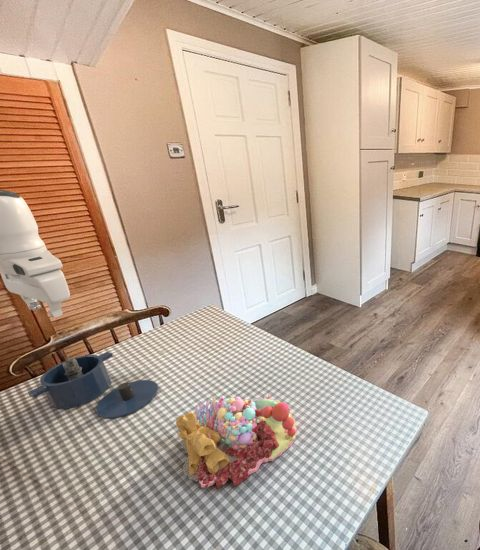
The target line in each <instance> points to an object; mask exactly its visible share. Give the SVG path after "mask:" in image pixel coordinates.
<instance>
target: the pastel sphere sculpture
mask: <svg viewBox="0 0 480 550" xmlns="http://www.w3.org/2000/svg"><path fill="white" fill-rule="evenodd" d="M199 414H200V415H199ZM175 425H176V427H177V429H178V431H179V432H178V433H177V434H176V436H178V437H179V438H180V439H181V440H182V442H181V443H180V449H182V450H184V453H186V454H187V455H188V456H187V457H186V458H185V460H184V464H182V471H183V472H182V474H183V475H185V476H188V479H189V480H191V481H194V482H198V483H199V485H200V487H201V488H202V489H205V488H208V487H211V486H213V485H216V490H217V492H219V491H220V490H221V488H223V486H225V484H226V483H227V482H228V481H229V480H230V481H232V483H233V487H236V486H238V485H239V484H241V483H242V482H244V481H246V480H247V479H249V478H250V475H252V474H254V473H257V472H258V470H259V469H260V467H261V465H262V464H263V463H268V462H273V461H274V460H276V458H278V457H281V456H282V455H283V453H284V452H286V451H287V450H288V449H289V448H291V447H292V445H293V443H294V442H295V440H296V438H297V432H298V428H297V422H296V420H295V418H294V417H293V414H292V411H290V406H289V405H288V403H286V402H281V401H279V400H275V399H272V398H271V395H270V394H268V396H267V398H266V397H265V396H264V394H263V396H262V398H254V399H252V400H251V399H242V398H241V396H239V395H238V396H235V397H230V398H223V396H221V397H220V399H219V403H218V401H216V400H215V395H213V396H212V401H211V403H210V405H209V401H208V400H206V403H205V405H204V404H202V401H199V402H198V406H197V405H196V406H195V413H194V412H192V411H189V412H187V413H184V414H183V415H179V416H178V417H177V418H176V421H175Z"/></svg>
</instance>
